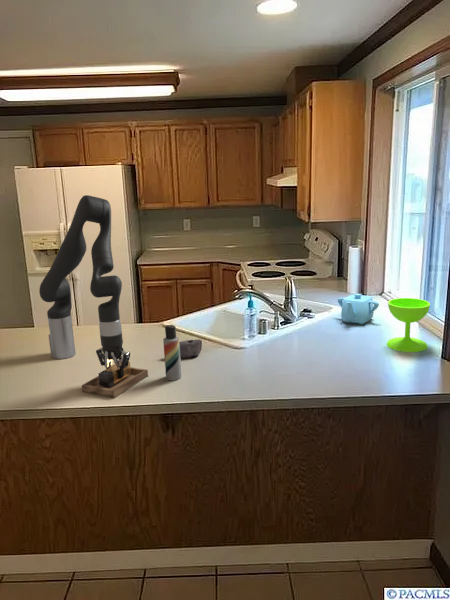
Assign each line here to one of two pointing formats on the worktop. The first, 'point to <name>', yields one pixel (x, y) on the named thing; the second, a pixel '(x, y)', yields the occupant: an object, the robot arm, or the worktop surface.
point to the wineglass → (408, 322)
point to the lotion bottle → (172, 353)
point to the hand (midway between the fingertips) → (115, 377)
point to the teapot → (357, 308)
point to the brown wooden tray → (116, 388)
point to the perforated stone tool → (190, 348)
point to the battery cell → (112, 375)
